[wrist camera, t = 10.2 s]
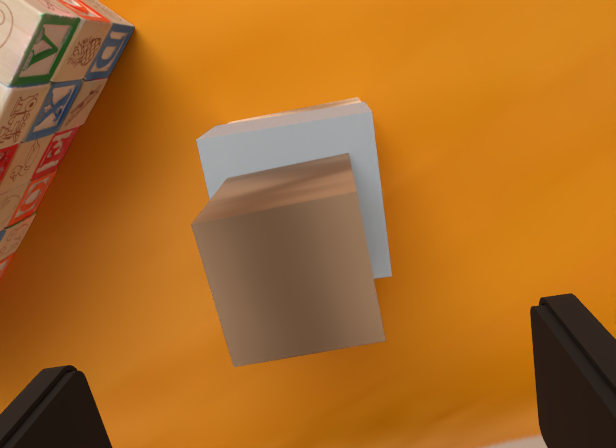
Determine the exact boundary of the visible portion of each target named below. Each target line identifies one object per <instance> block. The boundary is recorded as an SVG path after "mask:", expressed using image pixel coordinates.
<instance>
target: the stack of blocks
mask: <svg viewBox="0 0 616 448" xmlns="http://www.w3.org/2000/svg"><path fill="white" fill-rule="evenodd" d="M134 28H135V27H134V25H132V24H131V23H129V22H128V21H126V20H125V19H123V18H122V17H120V16H119V15H118V14H116V13H115V12H113V11H112V10H110V9H109V8H107V7H106V6H105V5H103V4H102V3H100V2H99V1H97V0H0V279H1V277H2V276H3V274H4V272H5V270H6V268H7V266H8V265H9V263H10V261H11V259H12V257H13V256H14V253H15V251H16V250H17V248H18V246H19V245H20V243H21V241H22V240H23V238H24V236H25V234H26V232H27V230H28V229H29V227H30V225H31V223H32V221H33V219H34V218H35V215H36V209H37V207H38V206H39V204H40V202H41V200H42V198H43V196H44V194H45V192H46V191H47V189H48V187H49V185H50V183H51V181H52V180H53V178H54V176H55V174H56V172H57V167H58V166H59V164H60V163H61V161H62V159H63V157H64V156H65V154H66V152H67V150H68V148H69V146H70V144H71V142H72V140H73V139H74V137H75V135H76V133H77V131H78V130H79V127H80V126H81V125H83V124H84V123H85V121H86V119H87V117H88V115H89V114H90V112H91V110H92V108H93V106H94V104H95V103H96V101H97V99H98V97H99V95H100V94H101V92H102V90H103V88H104V86H105V84H106V82H107V80H108V76H109V75H110V73H111V72H112V70H113V68H114V67H115V65H116V63H117V61H118V59H119V57H120V55H121V53H122V52H123V50H124V48H125V46H126V44H127V42H128V40H129V38H130V37H131V35H132V33H133V31H134Z"/></svg>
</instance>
